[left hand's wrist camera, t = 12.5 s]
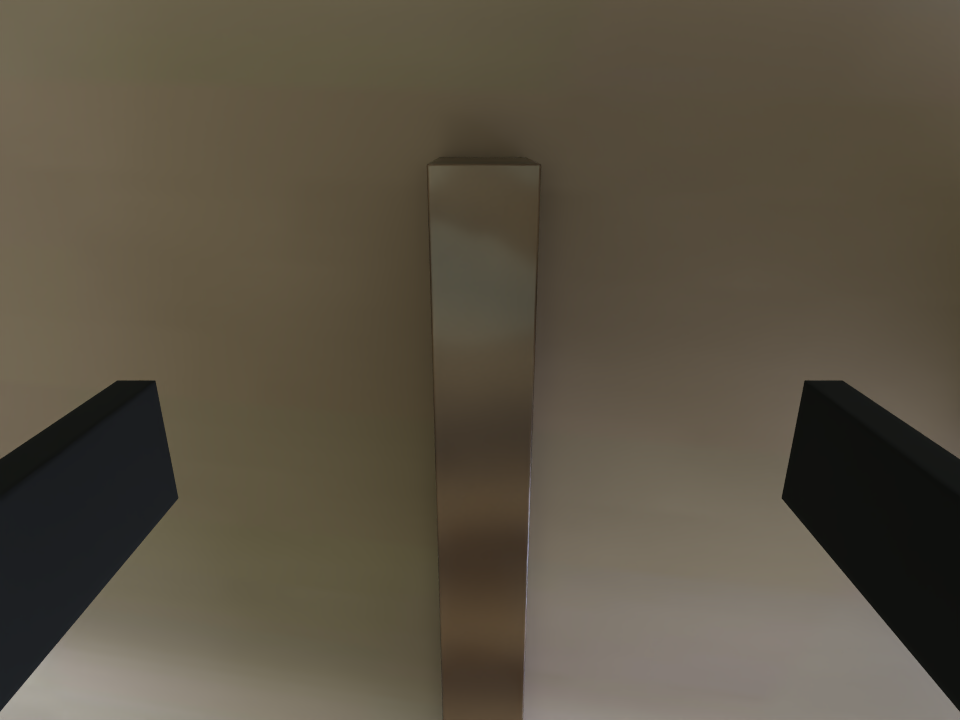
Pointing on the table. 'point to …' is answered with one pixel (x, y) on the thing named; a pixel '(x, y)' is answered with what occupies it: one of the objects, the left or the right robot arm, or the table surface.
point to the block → (483, 422)
